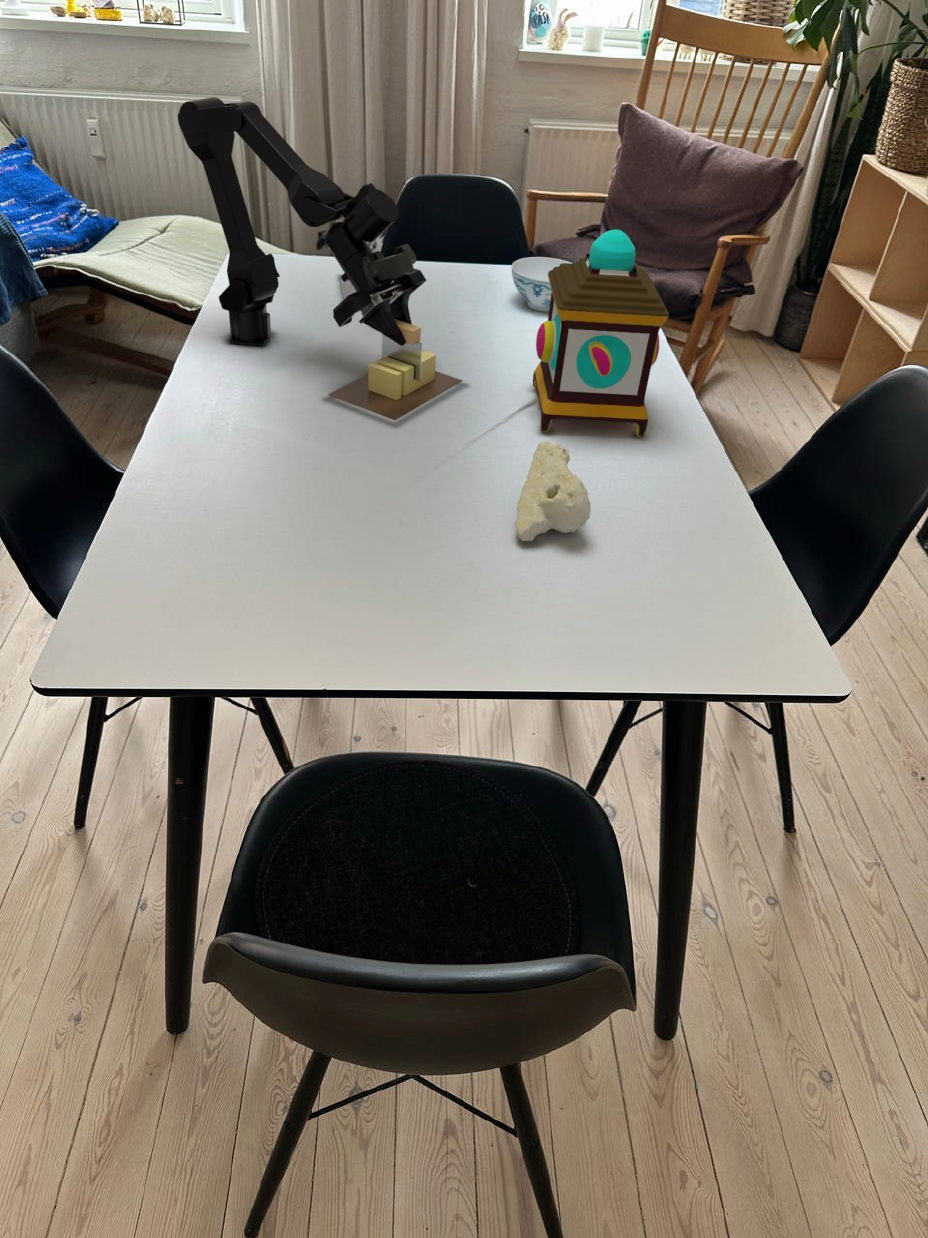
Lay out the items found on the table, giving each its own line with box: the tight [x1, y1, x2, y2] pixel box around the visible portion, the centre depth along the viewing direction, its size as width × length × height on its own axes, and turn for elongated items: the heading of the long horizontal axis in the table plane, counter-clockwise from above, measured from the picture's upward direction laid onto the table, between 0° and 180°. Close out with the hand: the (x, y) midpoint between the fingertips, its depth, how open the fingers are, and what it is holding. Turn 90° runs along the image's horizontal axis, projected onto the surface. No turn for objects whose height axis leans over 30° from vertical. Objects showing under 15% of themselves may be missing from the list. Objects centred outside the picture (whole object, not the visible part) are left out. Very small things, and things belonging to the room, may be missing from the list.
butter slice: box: [368, 362, 402, 400], centre depth 154 cm, size 6×1×4 cm, turn 56°
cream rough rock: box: [515, 441, 592, 542], centre depth 128 cm, size 15×7×15 cm
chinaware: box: [511, 256, 573, 313], centre depth 193 cm, size 15×15×8 cm
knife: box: [381, 319, 423, 381], centre depth 154 cm, size 8×2×9 cm, turn 56°
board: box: [327, 370, 464, 421], centre depth 158 cm, size 14×20×1 cm
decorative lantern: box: [532, 229, 670, 438], centre depth 148 cm, size 20×20×30 cm
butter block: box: [375, 349, 437, 396], centre depth 158 cm, size 6×9×4 cm, turn 146°
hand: (408, 342), depth 153 cm, fingers closed on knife, 2 cm apart
